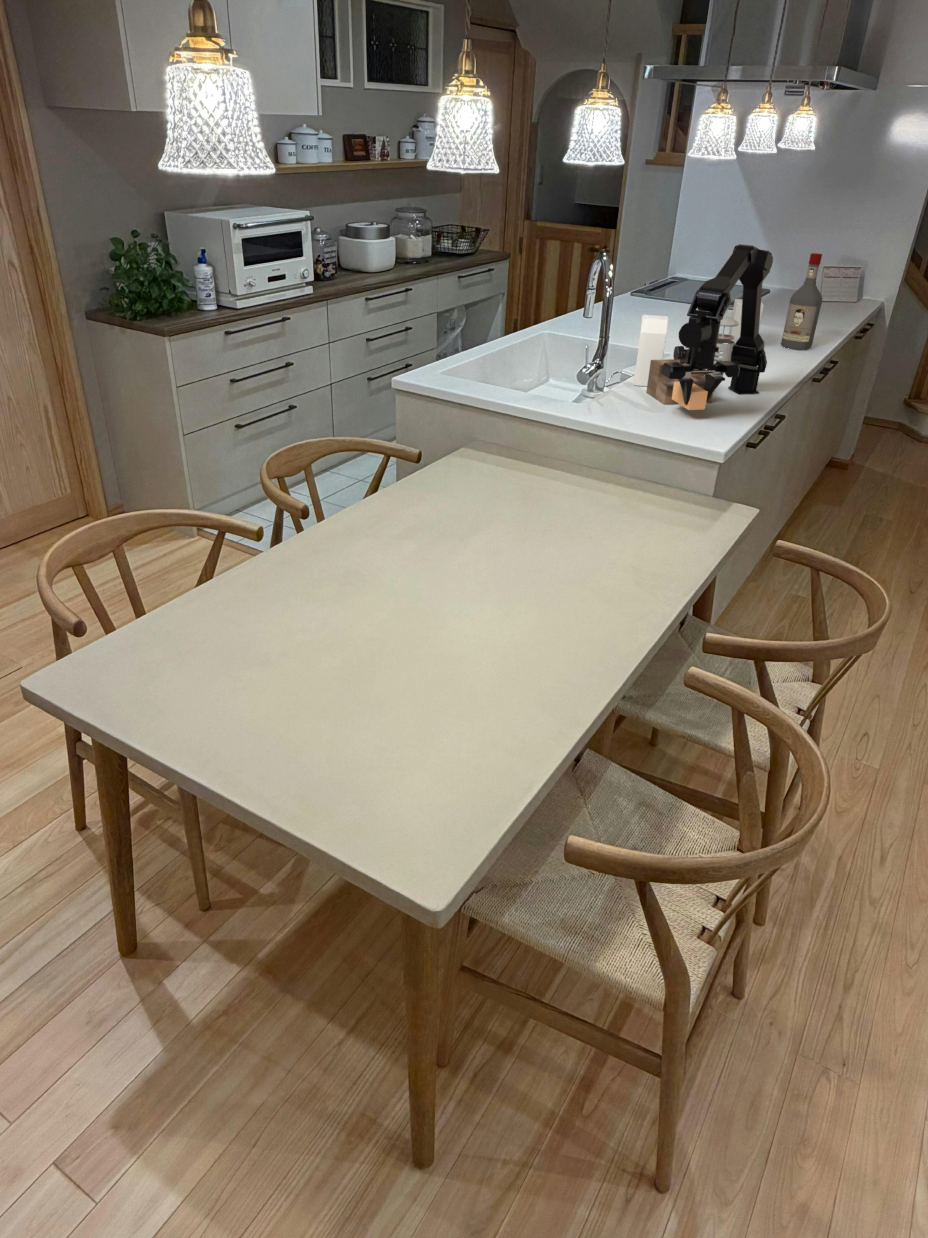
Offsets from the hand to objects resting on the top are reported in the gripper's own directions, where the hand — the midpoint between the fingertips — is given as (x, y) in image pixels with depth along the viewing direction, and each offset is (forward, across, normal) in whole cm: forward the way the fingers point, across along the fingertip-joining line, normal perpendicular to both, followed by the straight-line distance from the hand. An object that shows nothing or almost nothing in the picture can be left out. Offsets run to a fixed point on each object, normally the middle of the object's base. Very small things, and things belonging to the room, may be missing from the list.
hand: (694, 403), depth 214 cm
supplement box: (+4, -55, -76) cm, 94 cm away
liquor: (+4, -75, -74) cm, 105 cm away
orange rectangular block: (+1, 0, -4) cm, 4 cm away
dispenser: (+4, -5, -19) cm, 20 cm away
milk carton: (+4, -2, -34) cm, 34 cm away
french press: (+4, -32, -50) cm, 59 cm away
